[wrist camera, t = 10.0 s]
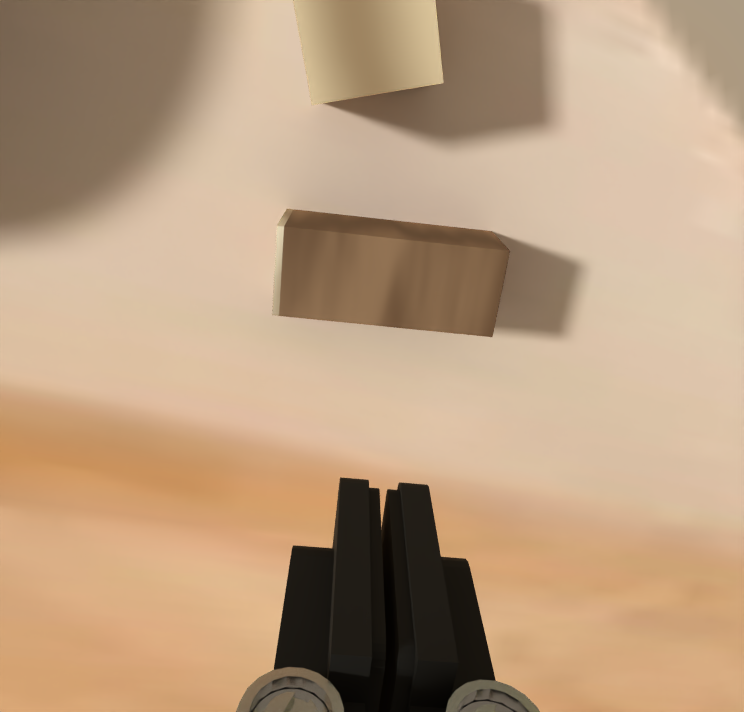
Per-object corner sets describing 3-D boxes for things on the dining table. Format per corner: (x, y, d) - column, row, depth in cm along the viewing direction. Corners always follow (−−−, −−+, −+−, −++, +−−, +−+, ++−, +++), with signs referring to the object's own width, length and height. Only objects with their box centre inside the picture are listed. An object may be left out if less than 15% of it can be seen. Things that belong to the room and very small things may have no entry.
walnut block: (287, 208, 30) (491, 231, 30) (282, 288, 31) (477, 308, 32) (276, 225, 26) (509, 251, 27) (272, 314, 28) (492, 336, 28)
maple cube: (415, -47, 26) (427, -75, 21) (429, 83, 28) (443, 83, 23) (297, -26, 26) (284, -50, 21) (319, 102, 28) (311, 104, 23)
